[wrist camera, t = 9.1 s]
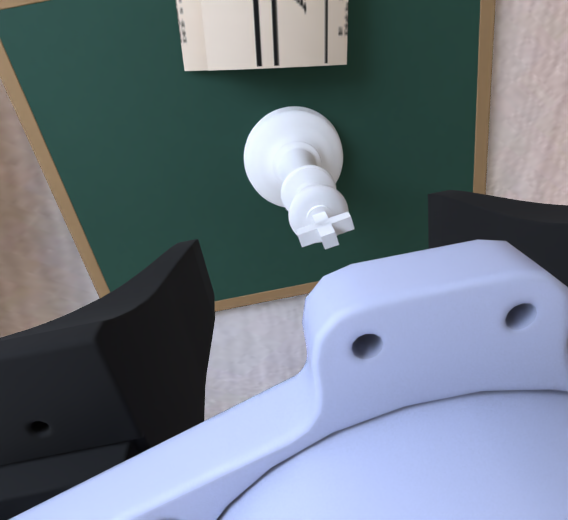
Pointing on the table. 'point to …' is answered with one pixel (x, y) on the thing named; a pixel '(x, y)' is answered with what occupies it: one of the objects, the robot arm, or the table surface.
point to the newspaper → (262, 33)
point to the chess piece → (300, 172)
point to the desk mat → (243, 135)
